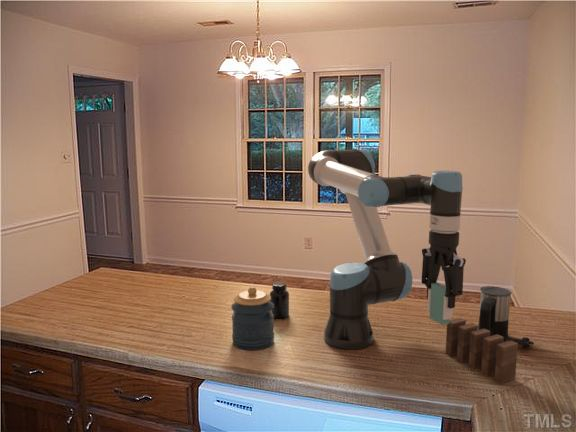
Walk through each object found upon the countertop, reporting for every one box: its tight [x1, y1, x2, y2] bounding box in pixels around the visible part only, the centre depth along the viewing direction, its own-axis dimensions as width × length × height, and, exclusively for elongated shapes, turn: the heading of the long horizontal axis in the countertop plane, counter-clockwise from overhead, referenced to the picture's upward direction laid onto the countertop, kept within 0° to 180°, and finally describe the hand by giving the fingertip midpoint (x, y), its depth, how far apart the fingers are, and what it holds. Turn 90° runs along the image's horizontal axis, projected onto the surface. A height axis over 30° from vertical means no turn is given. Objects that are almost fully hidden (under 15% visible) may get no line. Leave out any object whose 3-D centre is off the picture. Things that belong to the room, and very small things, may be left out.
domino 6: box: [494, 340, 519, 385], centre depth 123 cm, size 2×5×10 cm, turn 116°
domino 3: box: [456, 322, 478, 364], centre depth 134 cm, size 2×5×10 cm, turn 116°
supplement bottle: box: [269, 281, 290, 320], centre depth 167 cm, size 7×7×12 cm
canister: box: [230, 286, 275, 351], centre depth 146 cm, size 13×13×18 cm
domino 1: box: [429, 282, 450, 326], centre depth 128 cm, size 2×5×10 cm, turn 26°
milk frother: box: [478, 285, 535, 348], centre depth 146 cm, size 14×16×15 cm
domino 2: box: [445, 317, 467, 357], centre depth 138 cm, size 2×5×10 cm, turn 117°
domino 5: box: [481, 334, 505, 378], centre depth 126 cm, size 2×5×10 cm, turn 116°
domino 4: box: [468, 329, 490, 370], centre depth 130 cm, size 2×5×10 cm, turn 116°
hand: (439, 314), depth 129 cm, fingers closed on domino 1, 5 cm apart
